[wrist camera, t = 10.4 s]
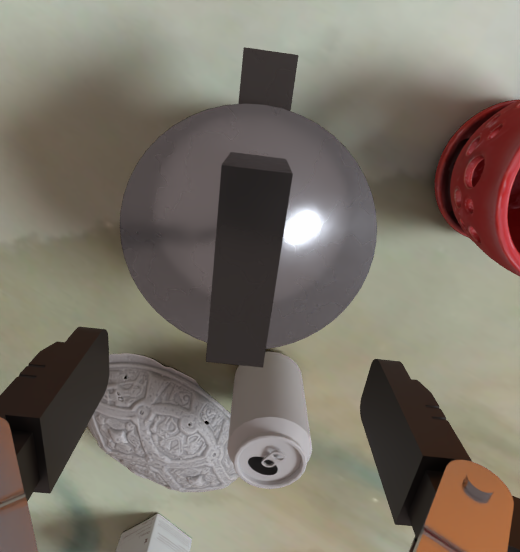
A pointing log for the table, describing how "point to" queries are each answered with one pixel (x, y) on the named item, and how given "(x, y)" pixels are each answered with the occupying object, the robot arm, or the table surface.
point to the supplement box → (154, 537)
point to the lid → (248, 229)
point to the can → (269, 423)
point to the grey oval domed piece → (163, 426)
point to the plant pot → (485, 182)
